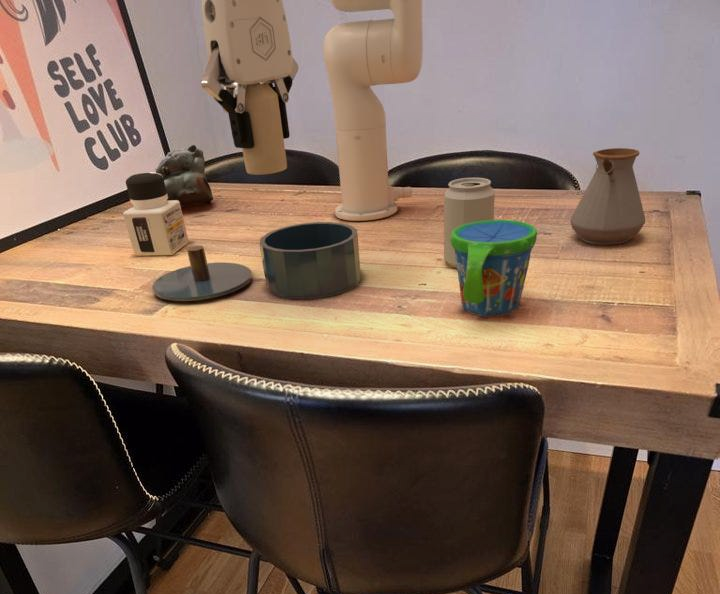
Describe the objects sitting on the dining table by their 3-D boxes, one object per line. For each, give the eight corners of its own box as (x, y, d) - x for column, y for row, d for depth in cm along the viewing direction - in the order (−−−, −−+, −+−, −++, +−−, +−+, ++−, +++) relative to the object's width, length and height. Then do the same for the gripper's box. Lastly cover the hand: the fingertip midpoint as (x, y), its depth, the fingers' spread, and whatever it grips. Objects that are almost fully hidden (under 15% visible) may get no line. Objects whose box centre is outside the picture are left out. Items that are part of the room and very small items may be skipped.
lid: (242, 263, 111) (235, 227, 107) (262, 292, 99) (255, 252, 95) (149, 280, 107) (139, 244, 103) (159, 312, 95) (148, 272, 91)
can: (495, 255, 104) (499, 174, 97) (487, 271, 98) (490, 187, 91) (449, 254, 106) (450, 175, 99) (438, 269, 100) (438, 187, 93)
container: (172, 255, 117) (153, 178, 110) (133, 256, 119) (112, 180, 111) (189, 242, 123) (172, 168, 116) (152, 243, 125) (133, 170, 117)
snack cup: (478, 283, 94) (481, 210, 88) (549, 293, 89) (556, 216, 83) (428, 323, 84) (426, 244, 78) (504, 337, 79) (509, 253, 73)
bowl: (343, 260, 108) (339, 216, 104) (374, 287, 96) (371, 239, 92) (258, 277, 104) (250, 232, 100) (280, 306, 93) (272, 258, 89)
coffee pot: (574, 226, 113) (586, 130, 104) (645, 229, 109) (663, 129, 100) (550, 267, 98) (561, 158, 89) (631, 272, 93) (651, 158, 84)
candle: (247, 167, 88) (232, 82, 82) (287, 163, 88) (276, 78, 82) (245, 177, 84) (229, 87, 78) (287, 172, 84) (274, 82, 78)
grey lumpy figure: (140, 214, 144) (129, 149, 142) (181, 222, 154) (171, 161, 152) (188, 195, 136) (177, 126, 134) (227, 205, 146) (217, 141, 144)
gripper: (195, -35, 66) (231, 159, 77) (311, -41, 76) (328, 131, 87) (153, -28, 70) (192, 155, 81) (267, -35, 80) (289, 128, 91)
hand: (262, 141), depth 84 cm, fingers closed on candle, 5 cm apart
